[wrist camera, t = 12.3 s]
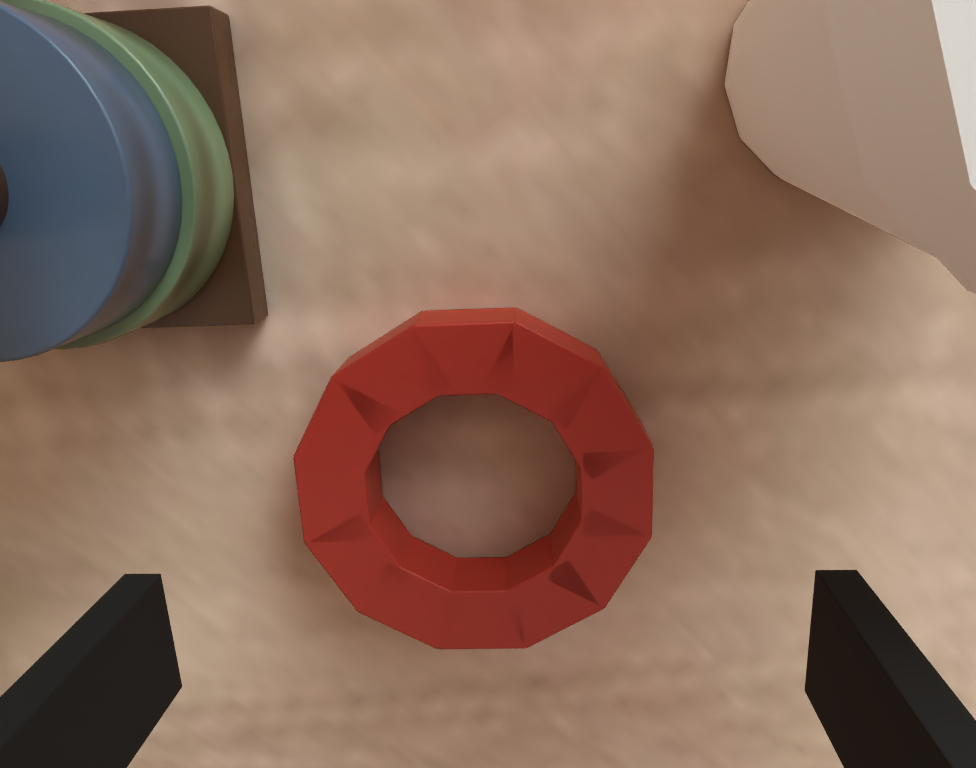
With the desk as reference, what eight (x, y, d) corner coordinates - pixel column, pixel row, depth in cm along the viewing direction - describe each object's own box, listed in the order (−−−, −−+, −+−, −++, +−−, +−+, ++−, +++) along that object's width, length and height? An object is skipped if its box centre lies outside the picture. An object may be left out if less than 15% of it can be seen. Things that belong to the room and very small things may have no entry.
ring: (644, 302, 21) (657, 316, 19) (639, 609, 24) (650, 648, 22) (298, 314, 21) (276, 329, 19) (333, 613, 24) (317, 651, 22)
